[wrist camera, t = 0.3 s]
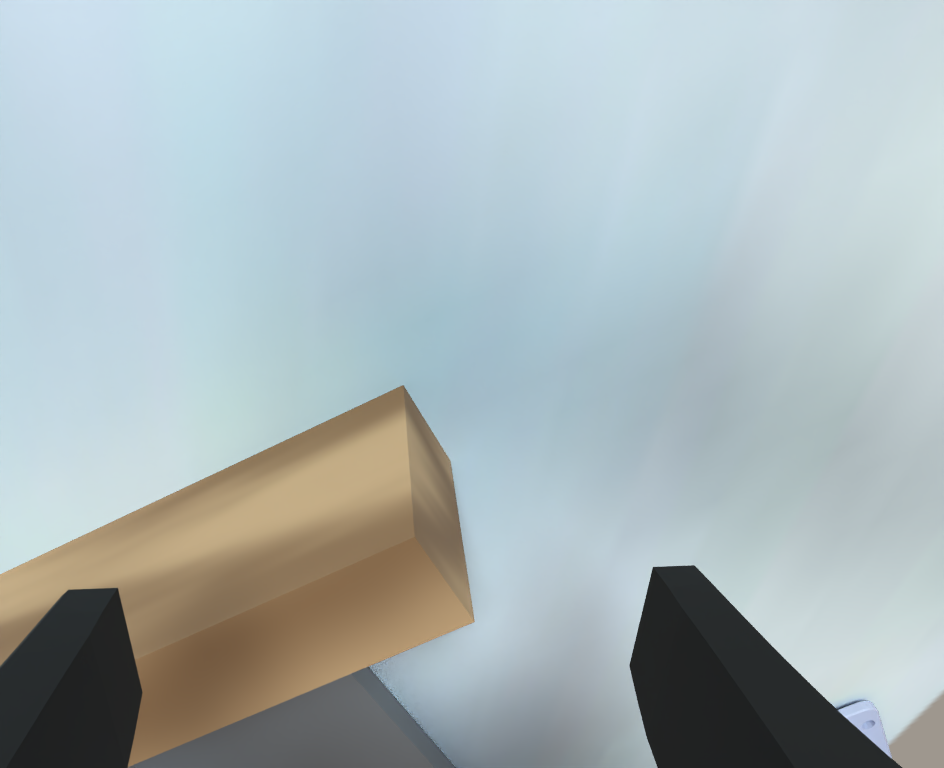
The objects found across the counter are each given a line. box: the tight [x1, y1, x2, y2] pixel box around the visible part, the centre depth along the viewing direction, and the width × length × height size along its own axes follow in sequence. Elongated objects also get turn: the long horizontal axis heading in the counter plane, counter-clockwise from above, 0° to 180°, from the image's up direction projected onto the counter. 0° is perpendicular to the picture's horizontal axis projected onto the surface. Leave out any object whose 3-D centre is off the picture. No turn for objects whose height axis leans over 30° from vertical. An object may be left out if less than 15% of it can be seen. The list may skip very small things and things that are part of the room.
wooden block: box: [0, 386, 475, 767], centre depth 20 cm, size 3×18×6 cm, turn 115°
